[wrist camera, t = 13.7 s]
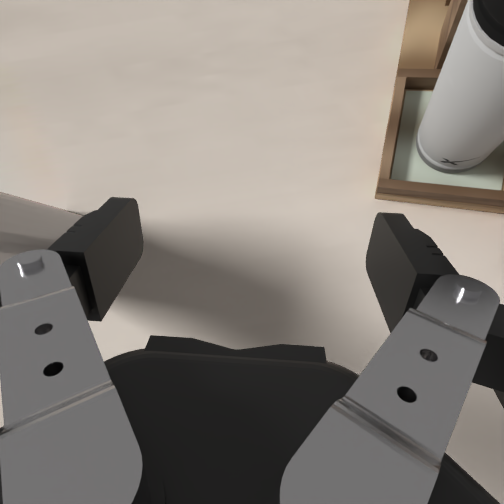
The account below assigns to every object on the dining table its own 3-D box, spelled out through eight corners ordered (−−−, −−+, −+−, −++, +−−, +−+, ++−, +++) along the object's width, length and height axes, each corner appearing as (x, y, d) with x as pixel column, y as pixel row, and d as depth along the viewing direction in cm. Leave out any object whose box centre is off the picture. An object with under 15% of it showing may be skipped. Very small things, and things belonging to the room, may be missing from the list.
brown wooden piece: (503, 213, 32) (608, 158, 19) (374, 198, 35) (386, 142, 22) (541, -31, 33) (666, -246, 20) (413, -23, 37) (447, -204, 23)
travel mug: (450, 191, 31) (595, 37, 12) (400, 139, 33) (460, -67, 14) (513, 144, 30) (776, -102, 11) (458, 93, 32) (606, -195, 13)
